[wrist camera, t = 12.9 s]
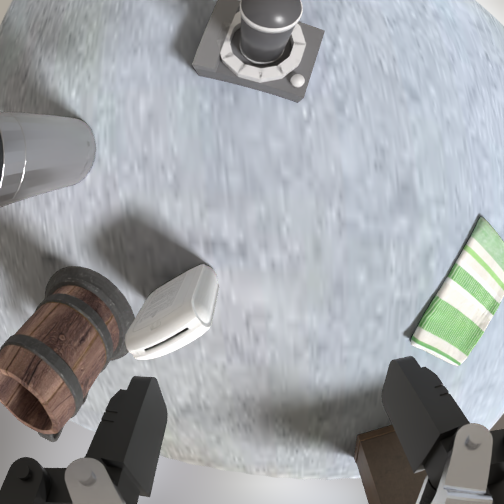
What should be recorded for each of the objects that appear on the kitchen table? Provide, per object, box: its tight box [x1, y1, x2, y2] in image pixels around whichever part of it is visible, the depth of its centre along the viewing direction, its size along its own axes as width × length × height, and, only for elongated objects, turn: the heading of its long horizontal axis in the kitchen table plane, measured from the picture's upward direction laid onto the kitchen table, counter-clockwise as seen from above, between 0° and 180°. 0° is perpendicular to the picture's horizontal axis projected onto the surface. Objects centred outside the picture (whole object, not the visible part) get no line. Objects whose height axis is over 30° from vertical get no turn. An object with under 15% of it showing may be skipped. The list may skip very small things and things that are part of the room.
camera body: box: [192, 0, 325, 103], centre depth 27 cm, size 12×9×5 cm
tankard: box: [0, 266, 135, 442], centre depth 32 cm, size 24×17×20 cm
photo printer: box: [125, 264, 219, 360], centre depth 33 cm, size 10×4×12 cm, turn 120°
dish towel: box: [411, 217, 504, 366], centre depth 40 cm, size 18×23×3 cm
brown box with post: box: [354, 425, 427, 504], centre depth 36 cm, size 19×14×35 cm
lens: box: [240, 0, 303, 65], centre depth 21 cm, size 5×5×10 cm
